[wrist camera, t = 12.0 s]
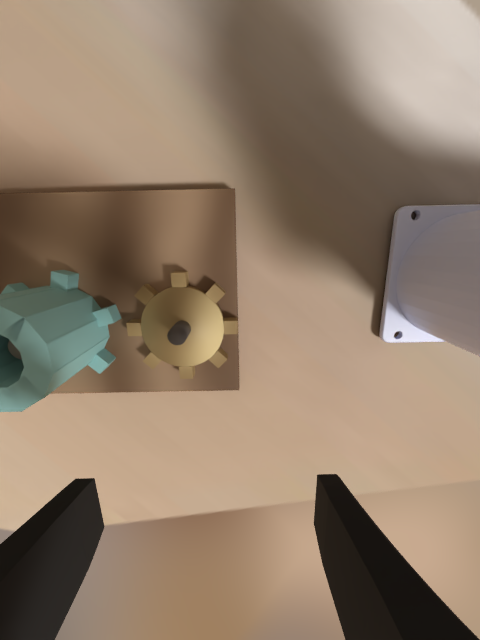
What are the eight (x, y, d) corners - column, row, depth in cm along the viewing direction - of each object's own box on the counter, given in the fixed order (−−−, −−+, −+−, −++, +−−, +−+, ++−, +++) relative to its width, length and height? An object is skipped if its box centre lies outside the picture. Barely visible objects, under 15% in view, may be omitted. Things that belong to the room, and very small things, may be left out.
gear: (114, 268, 15) (55, 277, 10) (129, 376, 17) (85, 427, 12) (-4, 271, 15) (-119, 281, 10) (24, 378, 17) (-63, 430, 12)
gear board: (235, 191, 15) (233, 168, 10) (239, 384, 18) (239, 424, 14) (-13, 196, 15) (-113, 176, 11) (34, 387, 18) (-28, 429, 14)
